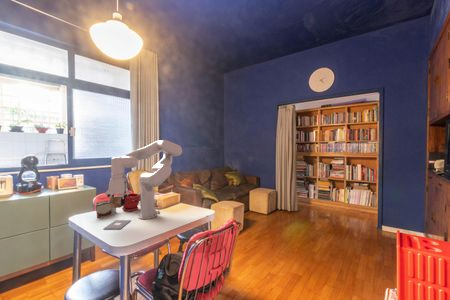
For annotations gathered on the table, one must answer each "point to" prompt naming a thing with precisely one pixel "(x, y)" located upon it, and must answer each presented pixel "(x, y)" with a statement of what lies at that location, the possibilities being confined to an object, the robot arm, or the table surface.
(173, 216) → the table surface
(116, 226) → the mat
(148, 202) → the robot arm
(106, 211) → the food container
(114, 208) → the grey narrow block
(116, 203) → the walnut block
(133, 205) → the plant pot
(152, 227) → the table surface
